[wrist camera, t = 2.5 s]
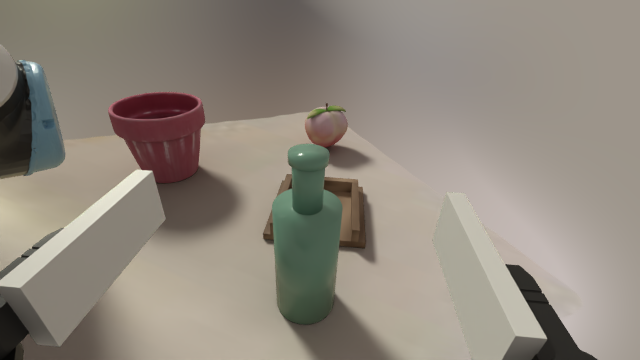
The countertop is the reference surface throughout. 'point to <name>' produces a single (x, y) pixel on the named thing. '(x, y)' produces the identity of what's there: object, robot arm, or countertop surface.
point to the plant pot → (161, 132)
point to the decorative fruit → (326, 125)
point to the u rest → (351, 212)
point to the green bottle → (306, 238)
